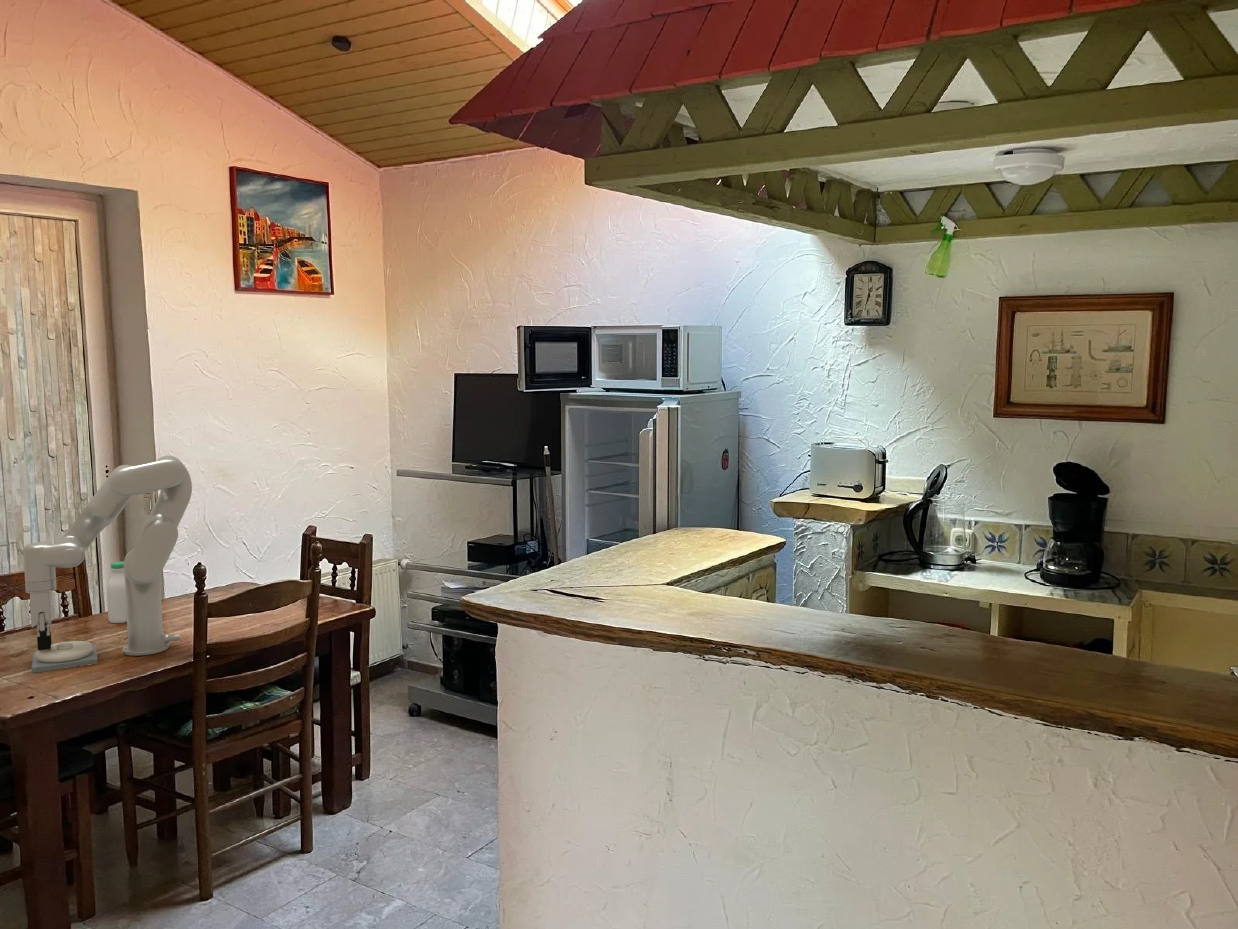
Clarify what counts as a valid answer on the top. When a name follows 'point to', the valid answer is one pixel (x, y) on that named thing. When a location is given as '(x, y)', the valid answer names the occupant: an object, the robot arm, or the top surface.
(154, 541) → the robot arm
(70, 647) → the dial
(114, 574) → the milk bottle
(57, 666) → the base board
